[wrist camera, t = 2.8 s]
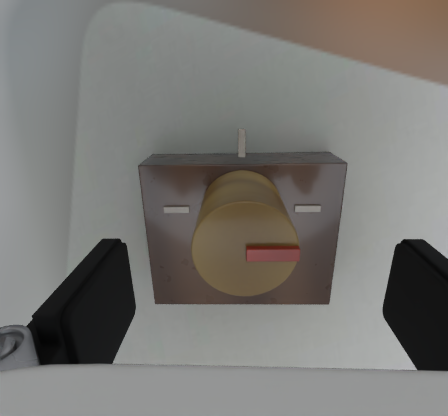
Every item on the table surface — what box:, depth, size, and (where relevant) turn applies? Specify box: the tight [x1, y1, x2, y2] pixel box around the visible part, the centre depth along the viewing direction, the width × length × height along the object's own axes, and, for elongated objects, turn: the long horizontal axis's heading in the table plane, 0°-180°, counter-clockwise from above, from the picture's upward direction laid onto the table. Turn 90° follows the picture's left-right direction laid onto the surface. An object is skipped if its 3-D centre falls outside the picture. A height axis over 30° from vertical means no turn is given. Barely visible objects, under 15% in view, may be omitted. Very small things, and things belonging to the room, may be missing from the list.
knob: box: [191, 170, 300, 296], centre depth 14 cm, size 4×4×5 cm
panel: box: [138, 129, 347, 304], centre depth 19 cm, size 11×11×3 cm
